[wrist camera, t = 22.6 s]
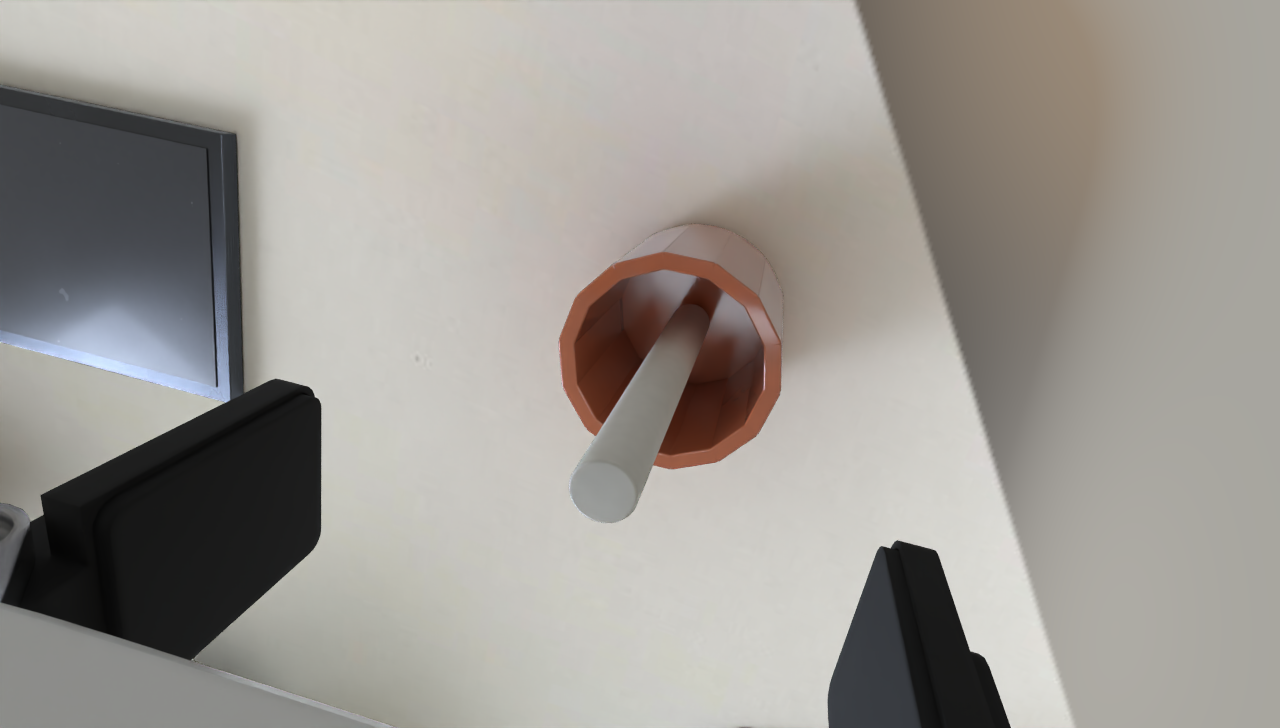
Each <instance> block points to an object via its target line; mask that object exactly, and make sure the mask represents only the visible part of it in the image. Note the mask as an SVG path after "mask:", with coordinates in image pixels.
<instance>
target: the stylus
mask: <svg viewBox="0 0 1280 728" xmlns="http://www.w3.org/2000/svg"><path fill="white" fill-rule="evenodd" d="M709 324H710V322H709V317H708V315H707V313H706V312H705V310H704V309H703V308H701V307H700V306H698V305H694V304H686V305H683V306H681V307H679V308H678V309H677V310H676V311H675V312H674V314H673V315H672V317H671V319H670V320H669V322H668V323H667V325H666V327H665V328H664V330H663V331H662V333H661V334H660V336H659V338H658V339H657V341H656V342H655V344H654V345H653V347H652V349H651V350H650V352H649V353H648V355H647V356H646V358H645V360H644V361H643V363H642V364H641V366H640V367H639V369H638V371H637V372H636V374H635V375H634V377H633V378H632V380H631V382H630V383H629V385H628V386H627V388H626V390H625V391H624V393H623V394H622V396H621V397H620V399H619V401H618V402H617V404H616V405H615V407H614V408H613V410H612V412H611V413H610V415H609V416H608V418H607V419H606V421H605V423H604V424H603V426H602V427H601V429H600V430H599V432H598V434H597V435H596V437H595V438H594V440H593V441H592V443H591V445H590V446H589V448H588V449H587V451H586V453H585V454H584V456H583V457H582V459H581V460H580V462H579V464H578V465H577V467H576V468H575V470H574V471H573V473H572V475H571V478H570V481H569V492H570V496H571V499H572V501H573V503H574V505H575V507H576V508H577V509H578V510H579V511H580V512H581V513H582V514H583V515H584V516H586V517H588V518H589V519H591V520H594V521H597V522H601V523H614V522H618V521H620V520H623V519H625V518H626V517H628V516H629V515H630V514H631V513H632V512H633V511H634V509H635V507H636V505H637V503H638V500H639V498H640V495H641V493H642V491H643V488H644V486H645V483H646V481H647V478H648V476H649V473H650V471H651V469H652V466H653V464H654V461H655V459H656V456H657V454H658V451H659V449H660V447H661V444H662V442H663V439H664V437H665V434H666V432H667V429H668V427H669V424H670V422H671V420H672V417H673V415H674V412H675V410H676V407H677V405H678V402H679V400H680V398H681V395H682V393H683V390H684V388H685V385H686V383H687V380H688V378H689V376H690V373H691V371H692V368H693V366H694V363H695V361H696V358H697V356H698V354H699V351H700V349H701V346H702V344H703V341H704V339H705V336H706V334H707V331H708V329H709Z"/></svg>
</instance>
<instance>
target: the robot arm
mask: <svg viewBox="0 0 1280 728" xmlns="http://www.w3.org/2000/svg"><path fill="white" fill-rule="evenodd" d="M41 501H42V507H43V512H44V515H43V516H41V517H39V518H37V519H35V520H33V521H31V522H30V519H29V516H28V515H27V514H26V513H25V511H24V510H23V509H21V508H18V507H16V506H13V505H11V504H5V503H0V728H397V727H394V726H391V725H388V724H385V723H382V722H379V721H376V720H373V719H370V718H367V717H364V716H361V715H357V714H354V713H351V712H348V711H345V710H342V709H339V708H336V707H333V706H330V705H327V704H324V703H321V702H318V701H315V700H311V699H308V698H305V697H302V696H299V695H296V694H293V693H290V692H287V691H284V690H281V689H278V688H275V687H272V686H268V685H265V684H262V683H259V682H256V681H253V680H250V679H247V678H243V677H240V676H237V675H234V674H231V673H228V672H225V671H221V670H218V669H215V668H212V667H209V666H206V665H203V664H200V663H196V662H193V661H190V660H191V659H192V658H194V657H195V656H196V655H197V654H198V653H199V652H200V651H201V650H202V649H204V648H205V647H206V646H207V645H208V644H209V643H210V642H211V641H212V640H214V639H215V638H216V637H217V636H218V635H219V634H220V633H221V632H223V631H224V630H225V629H226V628H227V627H228V626H229V625H230V624H231V623H233V622H234V621H235V620H236V619H237V618H238V617H239V616H240V615H241V614H243V613H244V612H245V611H246V610H247V609H248V608H249V607H250V606H251V605H253V604H254V603H255V602H256V601H257V600H258V599H259V598H260V597H262V596H263V595H264V594H265V593H266V592H267V591H268V590H269V589H270V588H272V587H273V586H274V585H275V584H276V583H277V582H278V581H279V580H280V579H282V578H283V577H284V576H285V575H286V574H287V573H288V572H289V571H290V570H292V569H293V568H294V567H295V566H296V565H297V564H298V563H299V562H301V561H302V560H303V559H304V558H305V557H306V556H307V555H308V554H309V553H310V552H311V551H312V550H313V549H314V548H315V546H316V544H317V542H318V540H319V537H320V534H321V403H320V401H319V399H317V398H315V396H314V393H313V391H312V389H310V388H309V387H307V386H303V385H299V384H295V383H292V382H288V381H284V380H280V379H273V380H270V381H268V382H266V383H264V384H262V385H260V386H258V387H256V388H254V389H252V390H250V391H248V392H246V393H244V394H242V395H240V396H238V397H236V398H234V399H232V400H230V401H228V402H226V403H224V404H222V405H220V406H218V407H216V408H214V409H212V410H210V411H208V412H206V413H204V414H202V415H200V416H198V417H196V418H194V419H192V420H190V421H188V422H186V423H184V424H182V425H180V426H178V427H176V428H174V429H172V430H170V431H168V432H166V433H164V434H162V435H160V436H158V437H156V438H154V439H152V440H150V441H148V442H146V443H144V444H142V445H140V446H138V447H136V448H134V449H132V450H130V451H128V452H126V453H124V454H122V455H120V456H118V457H116V458H114V459H112V460H110V461H108V462H106V463H104V464H102V465H100V466H98V467H96V468H94V469H92V470H90V471H88V472H86V473H84V474H82V475H80V476H78V477H76V478H74V479H72V480H70V481H68V482H66V483H64V484H62V485H60V486H58V487H56V488H54V489H52V490H50V491H48V492H46V493H44V494H42V495H41ZM828 720H829V728H1011V727H1010V724H1009V721H1008V719H1007V716H1006V713H1005V710H1004V707H1003V704H1002V702H1001V699H1000V696H999V693H998V690H997V688H996V685H995V682H994V679H993V676H992V674H991V671H990V668H989V666H988V664H987V662H986V660H985V658H984V657H982V656H981V655H980V654H977V653H974V652H970V650H969V647H968V644H967V641H966V638H965V635H964V632H963V628H962V625H961V622H960V619H959V616H958V613H957V610H956V607H955V604H954V601H953V598H952V595H951V592H950V589H949V586H948V583H947V580H946V577H945V574H944V571H943V568H942V565H941V562H940V559H939V556H938V554H937V552H936V551H935V550H932V549H928V548H925V547H921V546H917V545H913V544H909V543H905V542H902V541H898V540H897V541H896V542H894V544H893V545H892V547H891V548H887V547H883V546H881V547H880V548H879V549H878V551H877V553H876V556H875V558H874V561H873V564H872V567H871V570H870V572H869V575H868V578H867V581H866V584H865V586H864V589H863V592H862V595H861V597H860V600H859V603H858V606H857V609H856V611H855V614H854V617H853V620H852V623H851V625H850V628H849V631H848V634H847V637H846V639H845V642H844V645H843V648H842V651H841V653H840V656H839V659H838V662H837V665H836V667H835V670H834V673H833V676H832V679H831V682H830V687H829V693H828Z"/></svg>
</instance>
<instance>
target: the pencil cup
mask: <svg viewBox="0 0 1280 728" xmlns="http://www.w3.org/2000/svg"><path fill="white" fill-rule="evenodd" d="M783 297H784V295H783V292H782V290H781V287H780V284H779V282H778V279H777V277H776V274H775V272H774V270H773V269H772V267H771V265H770V263H769V262H768V261H767V259H766V258H765V256H764V255H763V254H762V253H761V252H760V251H759V250H758V249H757V248H756V247H755V246H754V245H753V244H751V243H750V242H749V241H747V240H746V239H745V238H743V237H741V236H740V235H738V234H736V233H734V232H732V231H729V230H727V229H724V228H720V227H717V226H712V225H705V224H688V225H680V226H676V227H673V228H669V229H666V230H664V231H661V232H657V233H654V234H652V235H651V236H650V237H648V238H647V239H646V240H644V241H643V242H642V243H640V244H639V245H638V246H636V247H635V248H634V249H632V250H631V251H630V252H628V253H627V254H625V255H624V256H623V257H621V258H620V259H619V260H617V261H616V262H615V263H613V264H612V265H611V266H610V267H609V268H607V269H606V270H605V271H604V272H603V273H602V274H601V275H599V276H598V277H597V278H596V279H595V280H594V281H593V282H591V283H590V284H589V285H588V286H587V287H586V288H584V289H583V290H582V291H581V292H580V293H579V294H578V295H577V297H576V298H575V300H574V302H573V305H572V307H571V310H570V312H569V315H568V317H567V320H566V322H565V325H564V327H563V330H562V332H561V335H560V338H559V353H560V365H561V376H562V386H563V389H564V391H565V392H566V394H567V396H568V398H569V400H570V401H571V403H572V405H573V407H574V408H575V410H576V412H577V414H578V415H579V417H580V419H581V421H582V422H583V424H584V426H585V427H586V428H587V430H588V431H590V432H591V433H592V434H594V435H595V436H596V435H597V434H598V432H599V430H600V429H601V427H602V426H603V424H604V423H605V421H606V419H607V418H608V416H609V415H610V413H611V412H612V410H613V408H614V407H615V405H616V404H617V402H618V401H619V399H620V397H621V396H622V394H623V393H624V391H625V390H626V388H627V386H628V385H629V383H630V382H631V380H632V378H633V377H634V375H635V374H636V372H637V371H638V369H639V367H640V366H641V364H642V363H643V361H644V360H645V358H646V356H647V355H648V353H649V352H650V350H651V349H652V347H653V345H654V344H655V342H656V341H657V339H658V338H659V336H660V334H661V333H662V331H663V330H664V328H665V327H666V325H667V323H668V322H669V320H670V319H671V317H672V315H673V314H674V312H675V311H676V310H677V309H678V308H679V307H681V306H683V305H686V304H694V305H698V306H700V307H701V308H703V309H704V310H705V312H706V313H707V315H708V317H709V322H710V324H709V329H708V331H707V334H706V336H705V339H704V341H703V344H702V346H701V349H700V351H699V354H698V356H697V358H696V361H695V363H694V366H693V368H692V371H691V373H690V376H689V378H688V380H687V383H686V385H685V388H684V390H683V393H682V395H681V398H680V400H679V402H678V405H677V407H676V410H675V412H674V415H673V417H672V420H671V422H670V424H669V427H668V429H667V432H666V434H665V437H664V439H663V442H662V444H661V447H660V449H659V451H658V454H657V456H656V459H655V461H654V464H653V465H655V466H659V467H663V468H667V469H678V468H684V467H690V466H697V465H703V464H709V463H715V462H718V461H721V460H722V459H723V458H725V457H726V456H728V455H729V454H731V453H732V452H734V451H735V450H737V449H738V448H740V447H741V446H743V445H744V444H746V443H747V442H748V441H750V440H751V439H753V438H754V437H756V436H757V434H759V432H760V430H761V428H762V427H763V425H764V423H765V421H766V419H767V417H768V416H769V414H770V412H771V410H772V408H773V407H774V405H775V403H776V401H777V399H778V397H779V396H780V392H781V377H782V344H783Z"/></svg>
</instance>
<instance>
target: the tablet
mask: <svg viewBox="0 0 1280 728" xmlns="http://www.w3.org/2000/svg"><path fill="white" fill-rule="evenodd" d="M0 342H2V343H6V344H10V345H13V346H17V347H21V348H25V349H28V350H32V351H36V352H40V353H43V354H47V355H51V356H55V357H58V358H62V359H66V360H70V361H73V362H77V363H81V364H84V365H88V366H92V367H96V368H99V369H103V370H107V371H111V372H114V373H118V374H122V375H126V376H129V377H133V378H137V379H141V380H144V381H148V382H152V383H156V384H159V385H163V386H167V387H171V388H174V389H178V390H182V391H186V392H189V393H193V394H197V395H201V396H204V397H208V398H212V399H216V400H219V401H223V402H228V401H230V400H232V399H234V398H236V397H238V396H240V395H242V394H243V369H242V334H241V299H240V263H239V228H238V193H237V157H236V134H234V133H229V132H224V131H220V130H215V129H210V128H205V127H201V126H196V125H191V124H186V123H182V122H177V121H172V120H167V119H162V118H158V117H153V116H148V115H143V114H139V113H134V112H129V111H124V110H120V109H115V108H110V107H105V106H100V105H96V104H91V103H86V102H81V101H77V100H72V99H67V98H62V97H57V96H53V95H48V94H43V93H38V92H34V91H29V90H24V89H19V88H15V87H10V86H5V85H0Z"/></svg>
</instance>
